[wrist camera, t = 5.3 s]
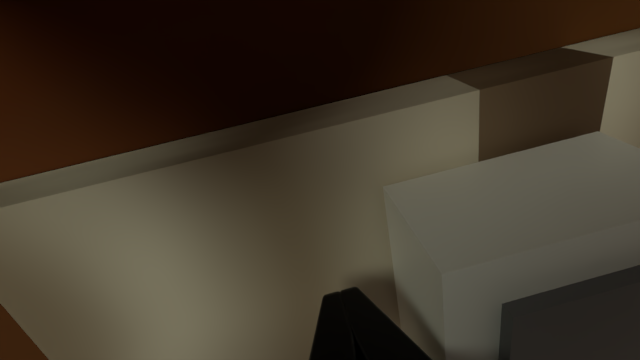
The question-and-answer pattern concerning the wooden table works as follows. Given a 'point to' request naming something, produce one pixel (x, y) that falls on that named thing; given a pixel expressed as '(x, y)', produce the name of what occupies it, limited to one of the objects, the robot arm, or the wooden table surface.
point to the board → (275, 209)
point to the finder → (522, 254)
